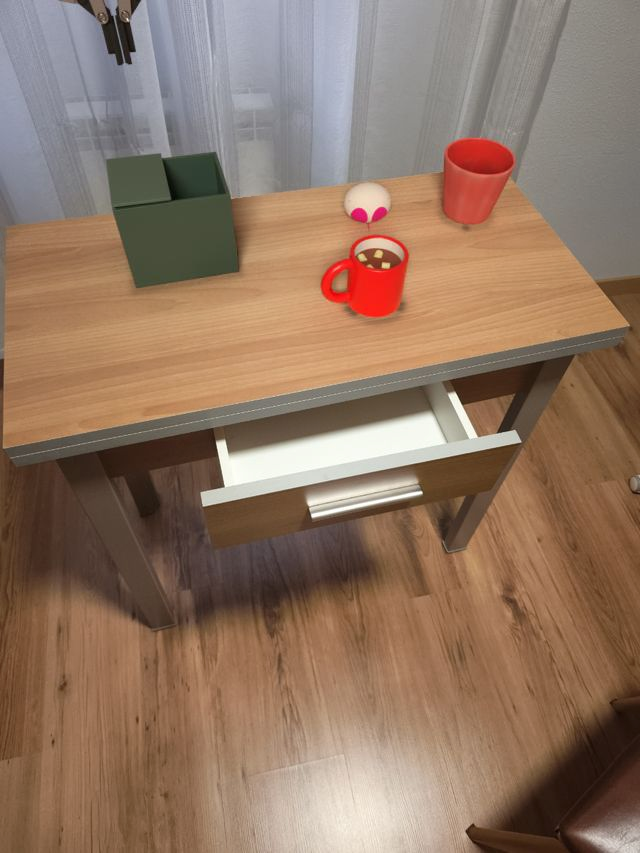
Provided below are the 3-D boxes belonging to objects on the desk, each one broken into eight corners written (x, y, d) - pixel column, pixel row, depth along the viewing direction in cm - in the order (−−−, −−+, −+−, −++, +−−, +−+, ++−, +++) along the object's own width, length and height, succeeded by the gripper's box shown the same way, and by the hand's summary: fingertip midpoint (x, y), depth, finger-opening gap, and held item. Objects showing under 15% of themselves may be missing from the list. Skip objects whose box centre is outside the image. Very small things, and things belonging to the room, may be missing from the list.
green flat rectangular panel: (112, 207, 71) (111, 204, 71) (106, 161, 77) (105, 159, 77) (171, 200, 72) (170, 197, 72) (161, 155, 78) (160, 153, 78)
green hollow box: (136, 288, 81) (112, 210, 71) (129, 242, 88) (106, 164, 77) (239, 271, 84) (230, 194, 74) (225, 228, 90) (216, 151, 80)
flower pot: (457, 238, 90) (472, 181, 82) (421, 201, 96) (432, 144, 88) (511, 222, 93) (530, 165, 85) (473, 187, 99) (488, 131, 91)
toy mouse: (344, 243, 94) (347, 228, 87) (340, 195, 94) (343, 177, 87) (389, 240, 94) (396, 225, 88) (386, 192, 94) (392, 174, 88)
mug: (311, 292, 82) (312, 246, 75) (387, 275, 84) (394, 229, 78) (330, 329, 78) (333, 283, 71) (409, 309, 80) (419, 264, 74)
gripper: (153, -187, 52) (186, 40, 67) (-21, -185, 49) (54, 52, 64) (162, -170, 48) (195, 68, 63) (-27, -167, 45) (54, 81, 60)
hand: (124, 59), depth 63 cm, fingers closed
